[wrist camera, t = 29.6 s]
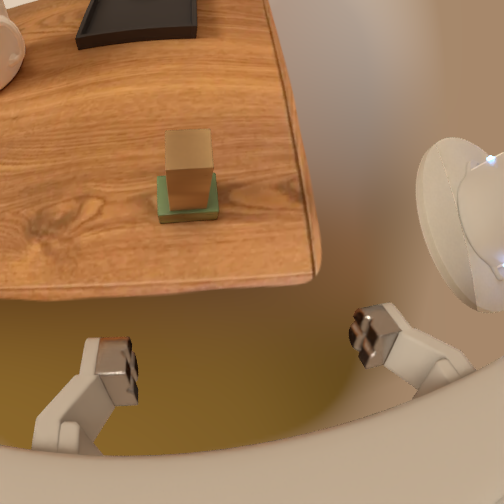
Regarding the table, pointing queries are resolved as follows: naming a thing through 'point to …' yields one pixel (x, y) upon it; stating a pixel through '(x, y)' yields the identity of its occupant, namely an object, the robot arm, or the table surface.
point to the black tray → (136, 21)
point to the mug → (9, 48)
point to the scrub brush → (187, 178)
